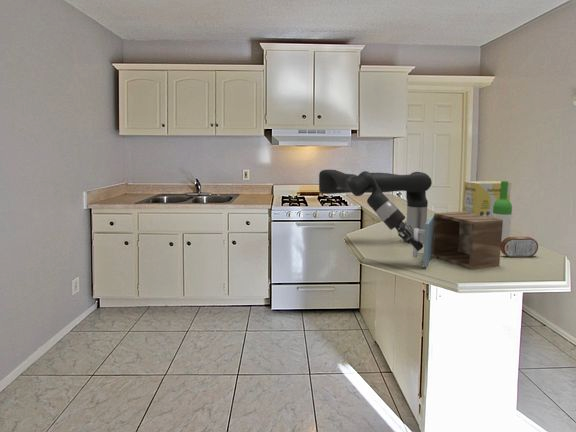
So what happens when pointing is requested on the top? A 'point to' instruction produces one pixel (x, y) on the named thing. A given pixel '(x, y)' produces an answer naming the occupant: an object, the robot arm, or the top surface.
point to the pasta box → (482, 197)
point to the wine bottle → (503, 210)
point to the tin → (519, 246)
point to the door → (425, 241)
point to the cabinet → (467, 239)
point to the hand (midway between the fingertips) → (420, 248)
